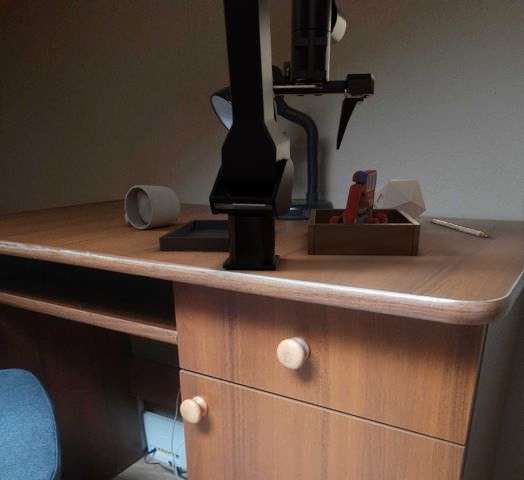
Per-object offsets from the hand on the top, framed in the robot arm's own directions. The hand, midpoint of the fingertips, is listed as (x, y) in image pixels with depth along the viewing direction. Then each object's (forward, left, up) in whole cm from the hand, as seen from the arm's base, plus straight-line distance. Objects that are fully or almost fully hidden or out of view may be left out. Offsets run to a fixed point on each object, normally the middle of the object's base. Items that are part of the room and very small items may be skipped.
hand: (307, 150), depth 77 cm
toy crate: (-7, -8, -13) cm, 17 cm away
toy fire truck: (-7, -8, -13) cm, 17 cm away
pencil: (+7, -26, -14) cm, 30 cm away
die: (+10, -16, -13) cm, 23 cm away
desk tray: (-5, +14, -13) cm, 20 cm away
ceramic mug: (+9, +30, -13) cm, 34 cm away
